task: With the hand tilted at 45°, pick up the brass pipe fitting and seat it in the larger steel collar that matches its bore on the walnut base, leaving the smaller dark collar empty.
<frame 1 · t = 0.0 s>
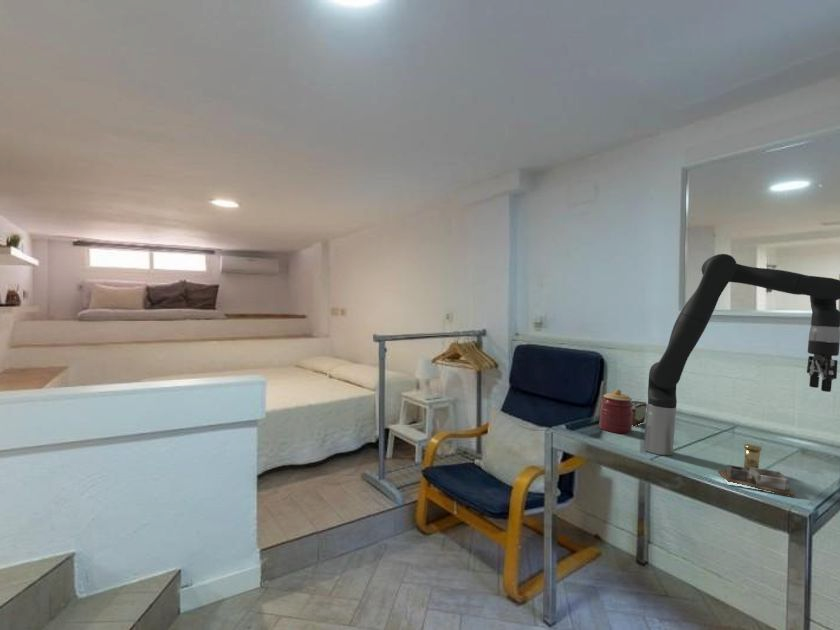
hand: (819, 389, 142), 29 cm above the table, tool pointing down, fingers open, 8 cm apart
canister: (614, 430, 188), on the table
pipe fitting: (750, 469, 147), on the table
food container: (632, 424, 200), on the table
collar base: (753, 483, 134), on the table
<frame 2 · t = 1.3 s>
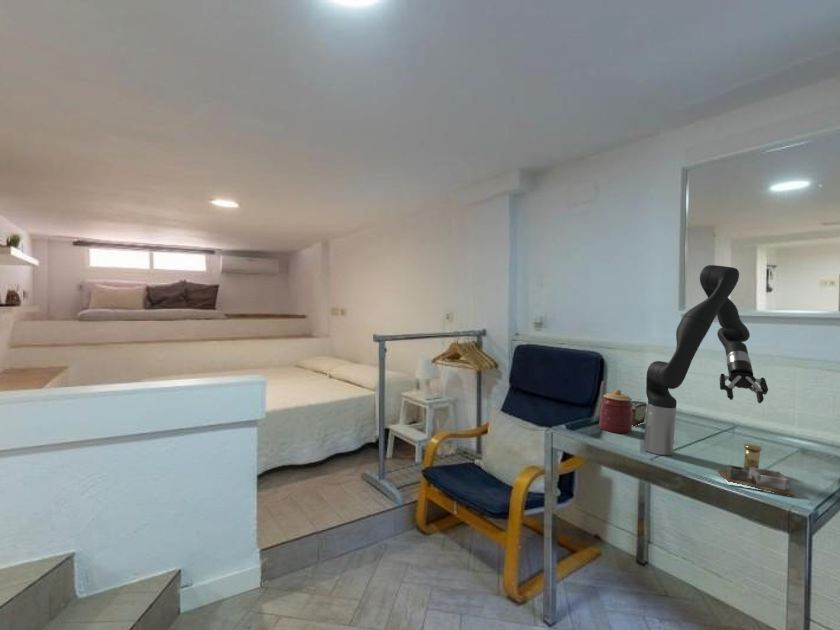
hand: (745, 400, 157), 22 cm above the table, tool tilted 45°, fingers open, 8 cm apart
nothing on the table moved.
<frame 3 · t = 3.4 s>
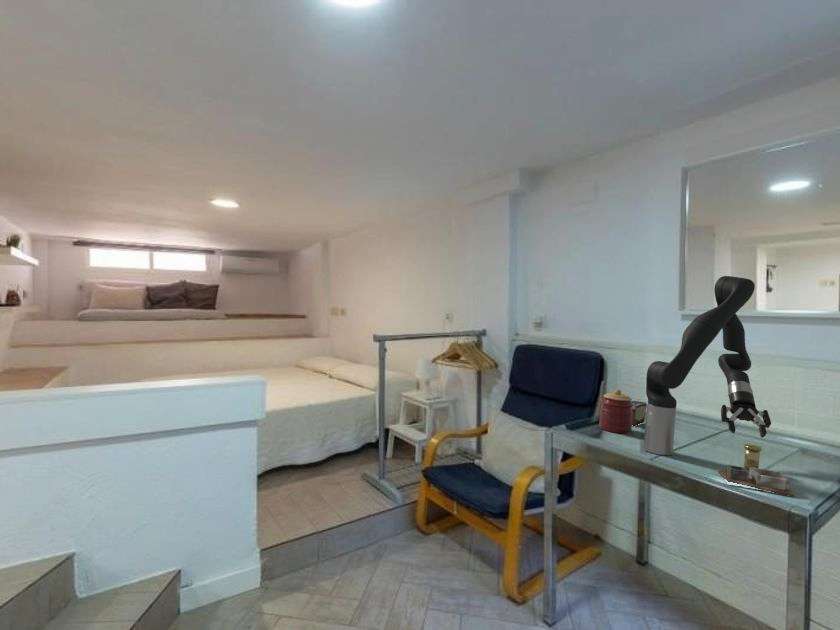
hand: (748, 434, 152), 11 cm above the table, tool tilted 45°, fingers open, 8 cm apart
nothing on the table moved.
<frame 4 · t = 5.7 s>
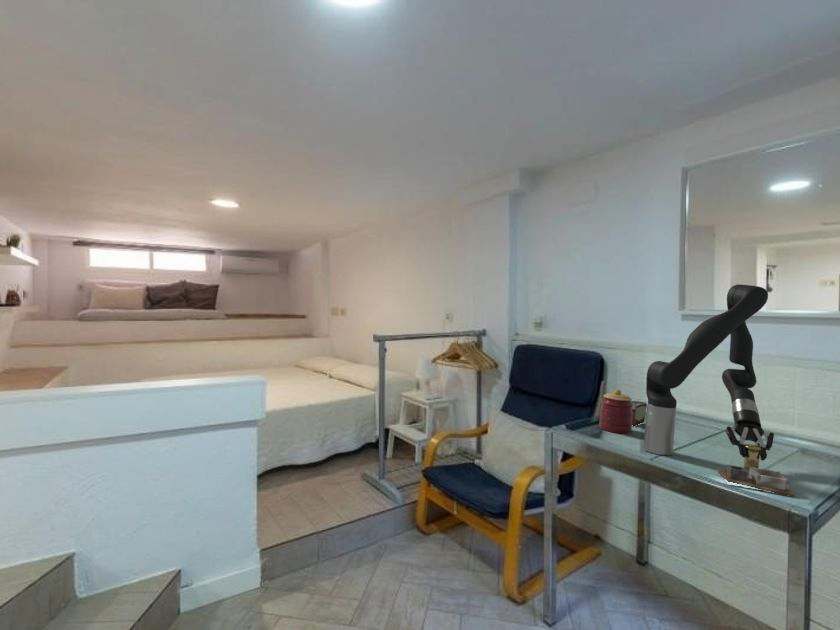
hand: (753, 457, 145), 5 cm above the table, tool tilted 45°, fingers closed on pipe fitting, 4 cm apart
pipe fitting: (751, 469, 147), on the table, touching gripper
everything else where it was.
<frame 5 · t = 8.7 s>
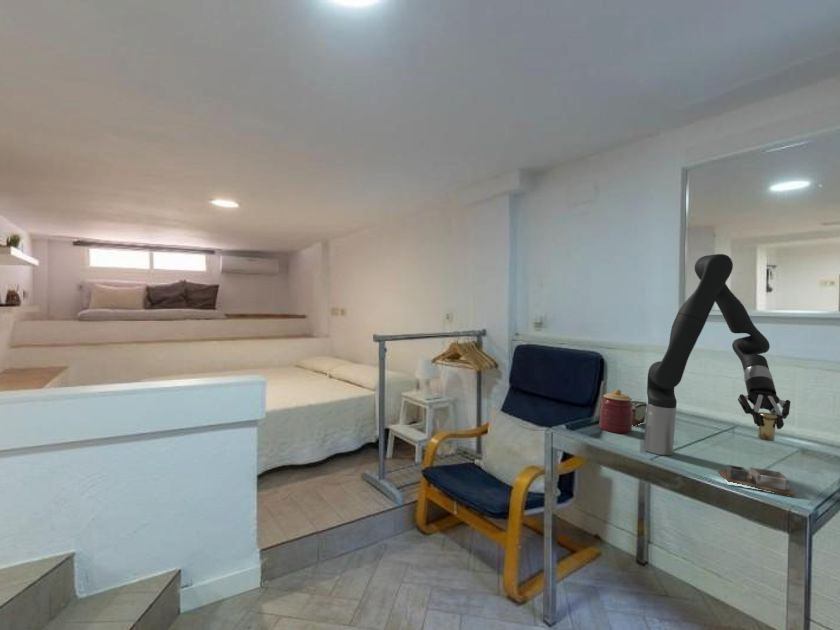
hand: (769, 426, 135), 18 cm above the table, tool tilted 45°, fingers closed on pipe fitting, 4 cm apart
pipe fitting: (765, 439, 137), point 13 cm above the table, touching gripper
everything else where it was.
when the fingers open (7 cm above the table, at t = 11.6 s): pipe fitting drops 1 cm, resting on collar base.
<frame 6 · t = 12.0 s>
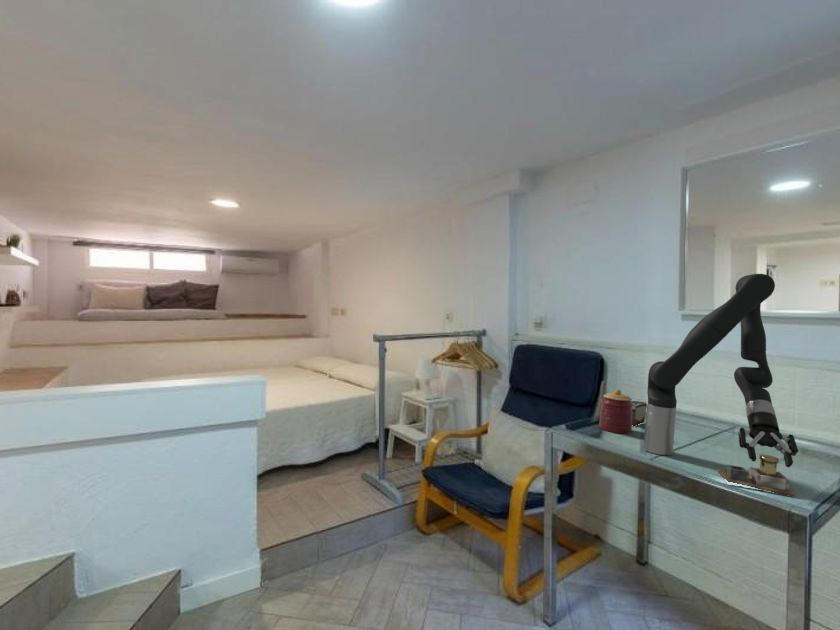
hand: (771, 463, 131), 8 cm above the table, tool tilted 45°, fingers open, 8 cm apart
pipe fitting: (766, 482, 132), point 1 cm above the table, touching collar base
everything else where it was.
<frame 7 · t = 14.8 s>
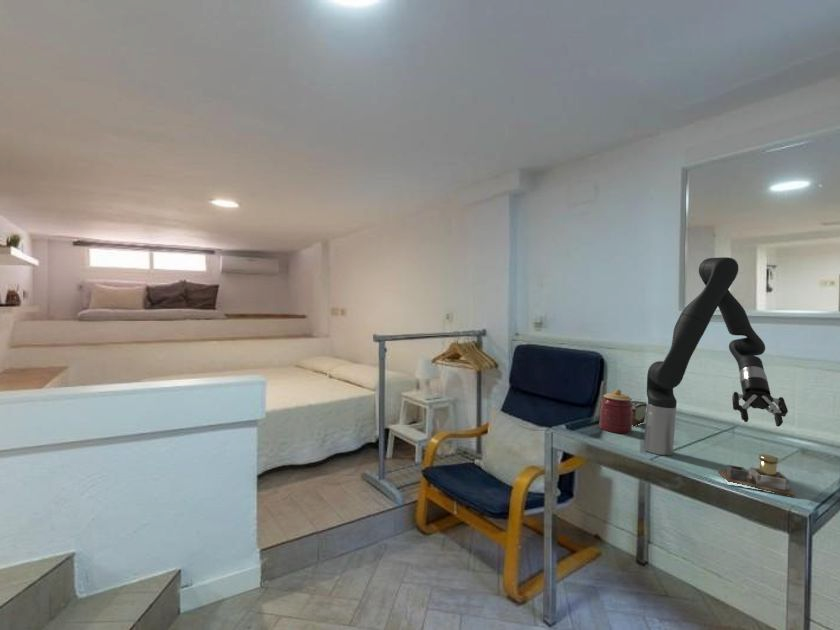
hand: (762, 422, 140), 18 cm above the table, tool tilted 45°, fingers open, 8 cm apart
nothing on the table moved.
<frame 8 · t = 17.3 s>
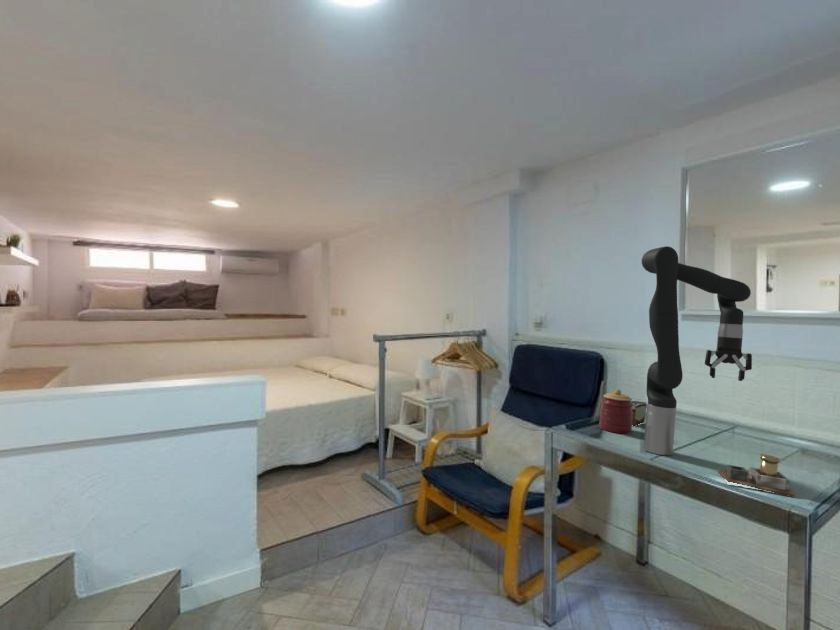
hand: (726, 379, 162), 28 cm above the table, tool pointing down, fingers open, 8 cm apart
nothing on the table moved.
at the end: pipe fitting 0.2 cm from the target spot on the collar base, point 1.1 cm above the collar base's base; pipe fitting tilted 2°; the gripper is holding nothing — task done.
